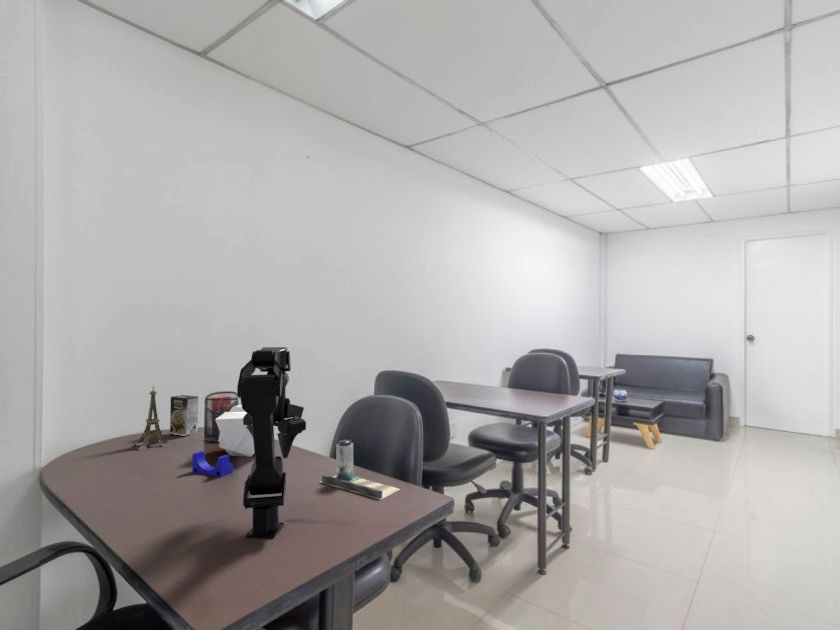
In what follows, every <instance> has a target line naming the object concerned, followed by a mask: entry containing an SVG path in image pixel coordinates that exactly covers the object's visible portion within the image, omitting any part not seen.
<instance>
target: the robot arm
mask: <svg viewBox="0 0 840 630" xmlns="http://www.w3.org/2000/svg"><path fill="white" fill-rule="evenodd" d="M251 353H252V354H251V359H250V360H249V361H248V362H247V363H246V364H245V365H244V366H242V368H240V372H239V376H238V381H237V385H236V387H237V390H236V391H237V392H236V393H237V397H238V398H239V399H240V405H242V409H243V410H244V411H245V412H246V413H247V414H246V415H245V416H244V417H243V425H247V426H246V428H247V429H248V430H249V432H250V433H251V435H252V437H253V443H254V454H253V455H254V459H253V463H252V465H251V470H250V474H248V475H247V479H246V480H244V487H243V496H242V497H243V498H242V504H243V505H242V506H243V507H244V509H245V510H248V509H251V510H252V516H251V517H252V518H251V519H252V523H251V524H252V526H251V528H250V529H249V530H248V531H247V532H246V533H245V536H246V537H248V538H249V537H250V538H275V537H276V536H277V535H278V533H279V532H280V530H281V529H283V527H284V526H285V522H283V521H282V522H280V520H279V519H280V507H284V506H285V502H286V498H287V497H286V495H287V493H286V492H287V472H286V471H285V472H284V463H283V459H284V460H285V459H288V457H289V454H290V452H291V448H292V446H293V444H294V443H293V442H294V441H295V439H296V437H297V436H298V435H299V434H302V433H303V431H306V430H307V421H306V420H305V419H304V418H302V417H303V412H304V410H305V407H304V406H299V405H297V404H293V403H291V400H290V398H288V397H287V396H286V393H287V392H286V388H287V385H288V384H289V380H290V377H289V374H288V372H291V368H292V367H291V365H292V364H291V354H290V353H291V351H289V350H288V347H286V346H269V347H268V346H264V347H261V349H257V350H255V351H252V352H251ZM256 369H258V370H260V373H264V372H265V373H266V374H254V373H255V372H256ZM274 427H277V430H278V433H277V439H278V444H279V447H280V452H281V456H282V457H281V456H276V446H275V445H276V444H275V430H274ZM279 494H281V495H279ZM265 495H271V496H265ZM252 496H256V497H252ZM257 496H258V497H257ZM259 496H260V497H259Z"/></svg>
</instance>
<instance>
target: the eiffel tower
mask: <svg viewBox="0 0 840 630" xmlns="http://www.w3.org/2000/svg"><path fill="white" fill-rule="evenodd" d="M154 387H155V386H152V390H151V391H149V395H150V402H149V410H148V416H147V418H146V419H145V422H146V425H145V429H144V430H143V433H142V435H141V436H140V437H139V438H138V439H137V440H136V443H140V442H142V444H141V445H140V446H139V448H140V447H147V446H148V443H149V440H150V439H151V438H157V440H158V439H159V440H160V441H161V443H160V444H162V443H163V444H167V443H169V441H168V440H167V439H166V437H165V436H164V435H163V434H162V430H161V428H160V424H159V422H160V419H159V418H158V411H157V401H156V395H157V390H155V388H154ZM152 425H154V428H155V429H151V428H152V427H151V426H152Z"/></svg>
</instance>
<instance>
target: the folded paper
mask: <svg viewBox="0 0 840 630" xmlns="http://www.w3.org/2000/svg"><path fill="white" fill-rule="evenodd" d="M246 414H247V413H246V412H245V411H244V410H243V409H242V405H241V404H240V405H234V406H232V407H231V408H230V410H229V411H224V412H223V413H222V414H221V415H219V416H218V417H217V418H215V423H216V425H217V428H218V431H219V436H218V440H217V441H218V442H219V445H218V448H220V449H224V451H225V452H226V453H227V455H229V457H231V456H233V457H245V458H252V457H253V456H254V455H255V454H254V443H253V437H252V435H251V433H250V432H249V430H248V429H247V428H246V426H247V425H243V417H244V416H245V415H246Z"/></svg>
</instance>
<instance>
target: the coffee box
mask: <svg viewBox="0 0 840 630" xmlns="http://www.w3.org/2000/svg"><path fill="white" fill-rule="evenodd" d="M169 411H170V412H169V413H170V415H169V416H170V418H169V419H170V421H169V424H170V425H169V433H170V432H172V433H179V434H190V433H194V432H197V431H199V429H198V425H199V420H198V419H199V396H197V395H185V394H182V395H175V396H173V395H172V396H171V397H170V410H169ZM197 433H198V432H197Z"/></svg>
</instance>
